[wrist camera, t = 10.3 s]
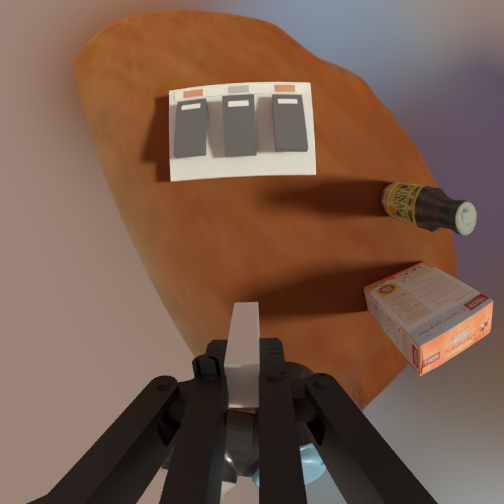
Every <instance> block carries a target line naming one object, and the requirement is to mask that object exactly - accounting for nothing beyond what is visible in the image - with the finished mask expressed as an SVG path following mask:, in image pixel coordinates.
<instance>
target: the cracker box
mask: <svg viewBox="0 0 504 504" xmlns="http://www.w3.org/2000/svg"><path fill="white" fill-rule="evenodd" d="M364 293H365V298H366V303H367V309H368V312H369V313H370V315H371V316H372V317H373V318H374V319H375V321H376V322H377V323H378V324H379V326H380V327H381V328H382V329H383V330H384V332H385V333H386V334H387V335H388V336H389V338H390V339H391V340H392V341H393V343H394V344H395V345H396V346H397V348H398V349H399V350H400V351H401V353H402V354H403V355H404V356H405V358H406V359H407V360H408V361H409V363H410V364H411V365H412V366H413V368H414V369H415V370H416V372H417V373H418V374H419V375H420V376H421V375H423V374H425V373H427V372H428V371H430V370H432V369H434V368H436V367H437V366H439V365H441V364H442V363H444V362H446V361H447V360H449V359H451V358H452V357H454V356H455V355H457V354H459V353H460V352H462V351H463V350H465V349H466V348H467V347H469V346H471V345H472V344H474V343H475V342H477V341H478V340H480V339H481V338H482V337H484V336H485V335H487V334H488V333H489V332H490V329H491V320H492V308H493V301H492V300H491V299H489V298H488V297H486V296H485V295H483V294H481V293H480V292H478V291H476V290H474V289H473V288H471V287H469V286H468V285H466V284H464V283H462V282H461V281H459V280H457V279H455V278H454V277H452V276H450V275H448V274H446V273H445V272H443V271H441V270H439V269H437V268H435V267H434V266H432V265H430V264H428V263H426V262H424V261H422V262H420V263H418V264H416V265H413V266H411V267H409V268H407V269H404V270H402V271H400V272H398V273H395V274H393V275H391V276H388V277H386V278H383V279H381V280H379V281H376V282H374V283H371V284H369V285H366V286H364Z"/></svg>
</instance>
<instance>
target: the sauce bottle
mask: <svg viewBox="0 0 504 504" xmlns="http://www.w3.org/2000/svg"><path fill="white" fill-rule="evenodd" d="M381 203H382V207H383V209H384V210H385V212H386V213H387V214H389V215H390V216H391V217H393V218H396V219H399V220H401V221H404V222H406V223H409V224H411V225H414V226H417V227H420V228H424V229H426V230H429V231H431V232H433V231H438V230H441V229H443V228H448V229H451V230H453V231H454V232H456V233H457V234H460V235H468V234H469V233H471V232H472V230H473V229H474V226H475V224H476V211H475V208H474V206H473V205H472V204H471V203H470V202H468V201H465V200H458V201H457V200H452V199H450V198H449V197H448V196H447V195H446V194H445V192H444V191H443V190H442V189H440V188H433V187H430V186H426V185H418V184H409V183H401V182H396V183H391V184H389V185H387V186H386V187H385V189H384V190H383V192H382V195H381Z"/></svg>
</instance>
